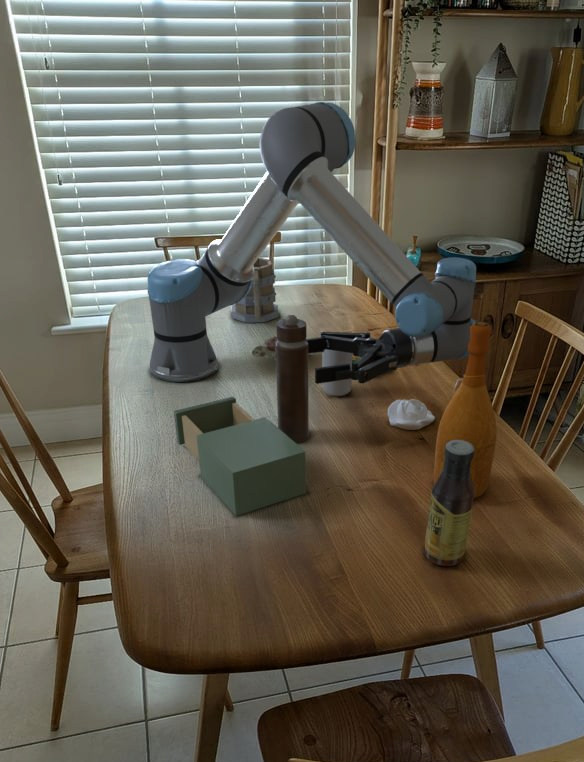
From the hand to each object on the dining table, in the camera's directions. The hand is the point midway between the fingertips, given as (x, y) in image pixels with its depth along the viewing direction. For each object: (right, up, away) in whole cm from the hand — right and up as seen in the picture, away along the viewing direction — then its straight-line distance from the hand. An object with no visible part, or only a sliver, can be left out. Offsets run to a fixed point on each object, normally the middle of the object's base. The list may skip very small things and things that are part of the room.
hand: (302, 361), depth 135 cm
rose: (+22, -9, +14) cm, 27 cm away
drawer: (-16, -16, +2) cm, 22 cm away
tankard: (-16, +24, +61) cm, 67 cm away
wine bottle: (+28, -24, -7) cm, 37 cm away
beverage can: (+6, -2, +25) cm, 26 cm away
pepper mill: (-2, -13, +8) cm, 15 cm away
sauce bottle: (+23, -35, -23) cm, 48 cm away
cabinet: (-9, -23, -7) cm, 26 cm away
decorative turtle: (-6, +10, +41) cm, 42 cm away
